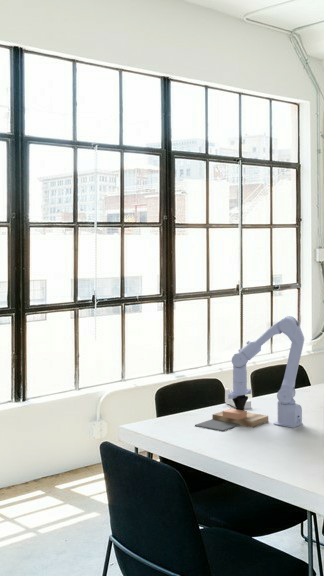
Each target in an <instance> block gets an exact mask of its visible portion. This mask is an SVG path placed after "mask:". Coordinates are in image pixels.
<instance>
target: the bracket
mask: <svg viewBox="0 0 324 576" xmlns="http://www.w3.org/2000/svg"><path fill="white" fill-rule="evenodd" d="M230 393H231V391H230V389H229V388H227V387H225V388H224V403H226V404H228V405H230V406H232V407H234V408H236V406H235V404H234V402H233V400H232V399H228V394H230ZM246 408H248V409H252V400H250V399H248V400H247V401H246V404H245V407H244V410H245V409H246Z"/></svg>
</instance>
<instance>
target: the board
mask: <svg viewBox="0 0 324 576" xmlns="http://www.w3.org/2000/svg"><path fill="white" fill-rule="evenodd" d="M223 411H224V410H221V411H218V412H216V413H213V414H212V415H211V416H212V417H211V418H212V419H213V420H219V421H225V422H230V423H236V424H240V426H241V427H242V426H243V427H248V428H255V427H258V426H261V425H264V424H266V423H268V422H269V415H264V414H259V413H255V412H254V413H252V412H248V411H247V417H246V418H243V419H240V420H237V419H231V418H225V417H223Z"/></svg>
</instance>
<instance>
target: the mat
mask: <svg viewBox="0 0 324 576" xmlns="http://www.w3.org/2000/svg"><path fill="white" fill-rule="evenodd" d="M240 426H241V425H240V424H236V423H230V422H225V421H219V420H213V419H209V420H206V421H203V422H199V423H197V424H194V427H198V428H201V429H202V428H203V429H207V428H208V429H209V430H213V431H218V430H219V432H225V430H226V431H228V429H229V430H231V429H234V428H236V427H240Z"/></svg>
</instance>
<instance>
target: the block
mask: <svg viewBox="0 0 324 576" xmlns="http://www.w3.org/2000/svg"><path fill="white" fill-rule="evenodd" d="M222 411H223V417H225V418H231V419H237V420H240V419H243V418H246V417H247V412H248V411H247V410H244V411H243V410H237V409H236V408H228V409H224V410H222Z"/></svg>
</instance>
